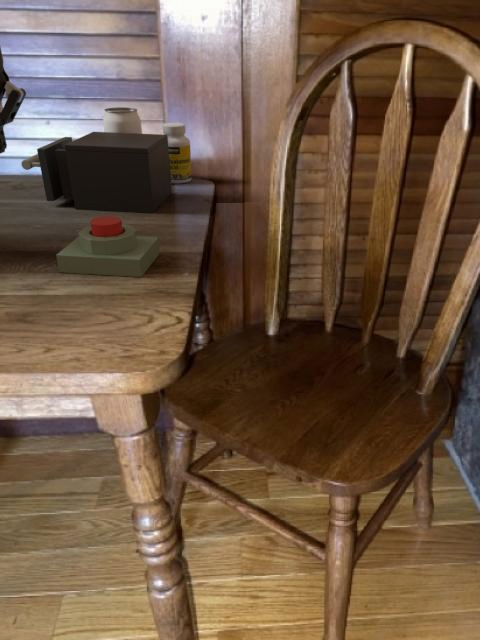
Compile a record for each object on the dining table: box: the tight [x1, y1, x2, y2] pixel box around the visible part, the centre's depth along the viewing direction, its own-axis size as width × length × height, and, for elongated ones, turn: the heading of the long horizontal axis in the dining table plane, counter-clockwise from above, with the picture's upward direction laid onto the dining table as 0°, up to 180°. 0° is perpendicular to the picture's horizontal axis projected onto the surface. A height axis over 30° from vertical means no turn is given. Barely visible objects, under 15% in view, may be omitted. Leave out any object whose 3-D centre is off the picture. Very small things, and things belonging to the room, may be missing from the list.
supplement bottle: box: [162, 122, 192, 185], centre depth 104 cm, size 5×5×10 cm
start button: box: [89, 215, 123, 237], centre depth 68 cm, size 4×4×2 cm
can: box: [102, 106, 143, 134], centre depth 103 cm, size 6×6×12 cm
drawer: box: [21, 136, 74, 202], centre depth 92 cm, size 16×10×8 cm, turn 85°
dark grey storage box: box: [65, 131, 173, 214], centre depth 92 cm, size 13×12×10 cm
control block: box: [55, 223, 160, 278], centre depth 70 cm, size 10×8×4 cm
